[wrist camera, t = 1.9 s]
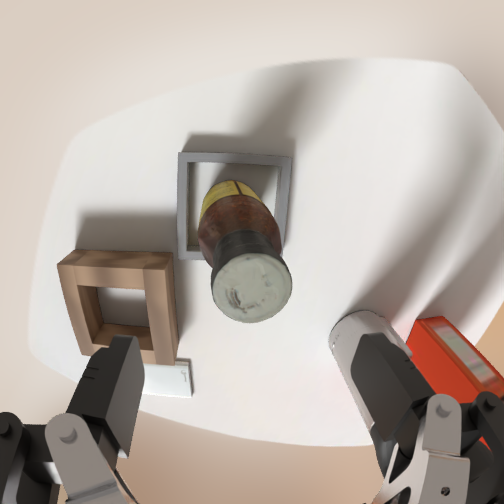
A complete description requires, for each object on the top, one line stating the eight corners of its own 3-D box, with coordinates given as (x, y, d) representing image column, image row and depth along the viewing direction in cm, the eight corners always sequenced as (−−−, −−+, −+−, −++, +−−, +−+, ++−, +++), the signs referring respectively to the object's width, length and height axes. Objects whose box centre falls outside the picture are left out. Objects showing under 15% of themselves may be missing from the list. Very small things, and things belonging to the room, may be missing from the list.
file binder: (444, 315, 43) (544, 427, 13) (412, 380, 49) (478, 488, 19) (414, 319, 42) (520, 453, 12) (383, 387, 48) (447, 509, 18)
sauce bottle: (200, 227, 32) (172, 334, 14) (207, 174, 30) (180, 219, 12) (254, 235, 33) (291, 345, 15) (265, 183, 31) (323, 241, 13)
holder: (172, 252, 33) (164, 270, 29) (178, 342, 38) (174, 366, 34) (74, 249, 32) (56, 264, 27) (93, 334, 37) (81, 354, 32)
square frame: (288, 157, 30) (292, 158, 28) (278, 255, 35) (281, 262, 33) (181, 152, 29) (178, 152, 27) (180, 252, 33) (178, 259, 31)
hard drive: (188, 366, 39) (112, 359, 37) (192, 398, 42) (123, 392, 40) (189, 359, 40) (114, 352, 39) (192, 392, 43) (125, 385, 42)
